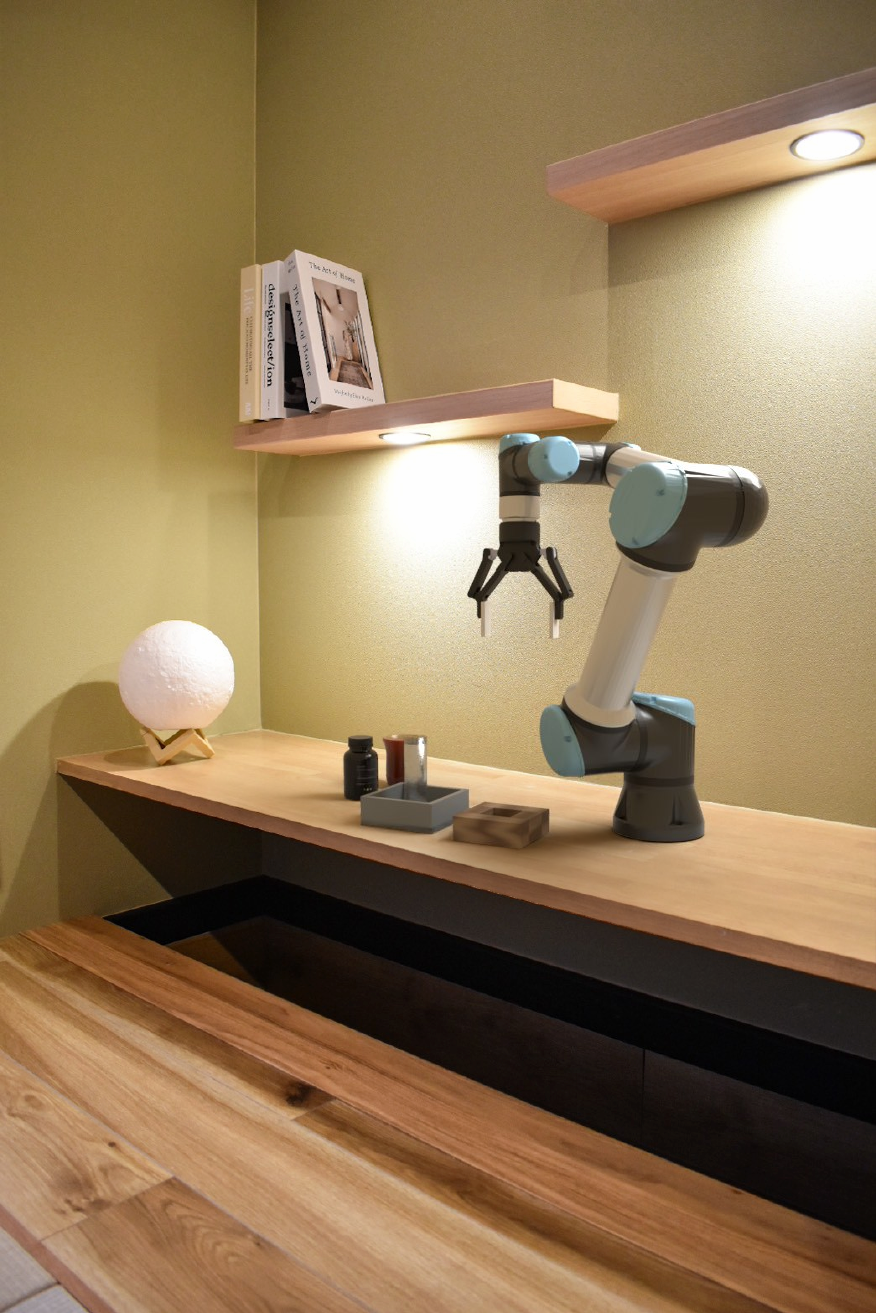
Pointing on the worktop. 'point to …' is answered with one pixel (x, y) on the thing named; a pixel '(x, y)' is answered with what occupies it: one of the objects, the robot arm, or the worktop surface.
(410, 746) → the pin
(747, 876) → the worktop surface
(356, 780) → the supplement bottle
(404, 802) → the tray
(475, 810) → the socket block
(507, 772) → the worktop surface
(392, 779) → the mug
